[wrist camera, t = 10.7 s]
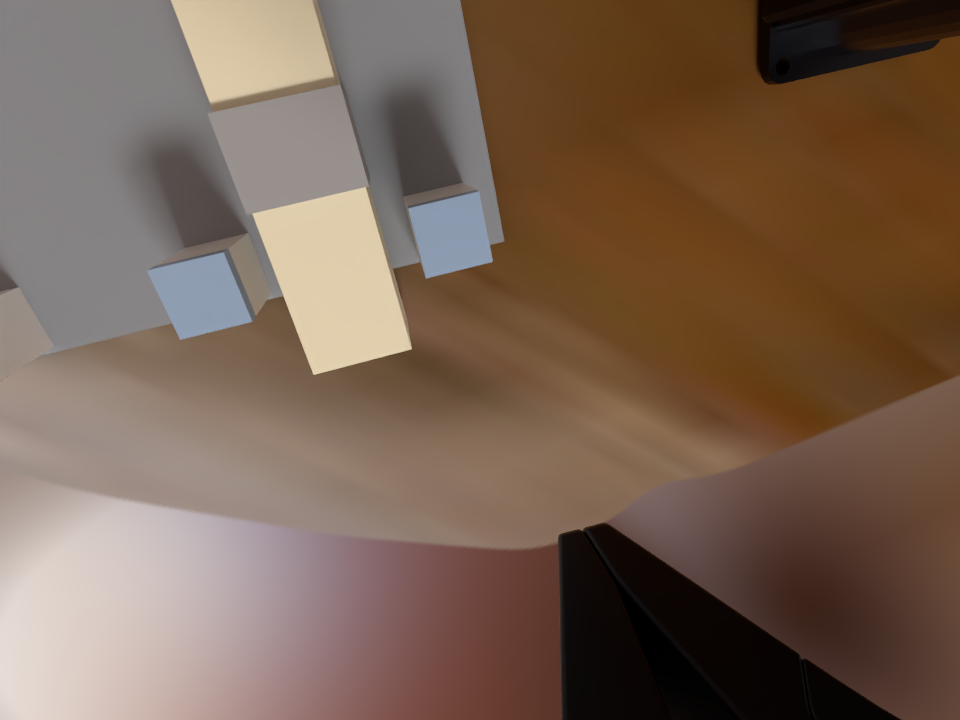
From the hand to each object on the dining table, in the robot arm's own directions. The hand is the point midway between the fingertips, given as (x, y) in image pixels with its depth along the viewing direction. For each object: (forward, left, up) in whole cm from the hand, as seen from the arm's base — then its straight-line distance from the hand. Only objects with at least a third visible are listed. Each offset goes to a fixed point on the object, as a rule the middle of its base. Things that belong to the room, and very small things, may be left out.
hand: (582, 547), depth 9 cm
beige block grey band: (+4, -7, -11) cm, 14 cm away
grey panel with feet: (+7, -8, -12) cm, 16 cm away
